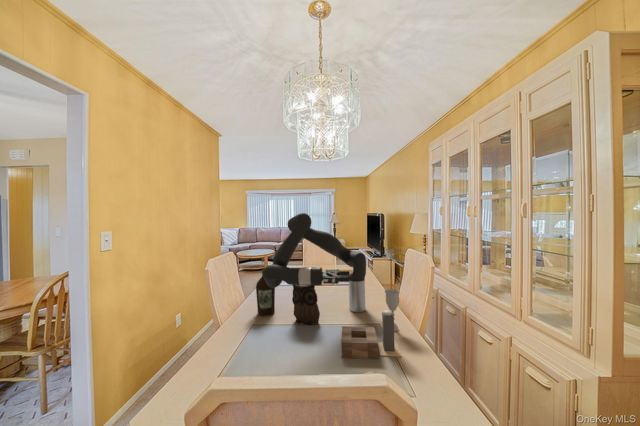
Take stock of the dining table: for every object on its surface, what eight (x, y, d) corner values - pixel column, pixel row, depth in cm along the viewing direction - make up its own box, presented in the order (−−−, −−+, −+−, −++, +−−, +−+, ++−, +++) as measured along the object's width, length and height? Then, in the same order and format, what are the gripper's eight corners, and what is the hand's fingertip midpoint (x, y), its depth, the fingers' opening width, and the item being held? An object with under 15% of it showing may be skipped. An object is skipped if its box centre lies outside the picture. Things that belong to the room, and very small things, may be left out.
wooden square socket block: (342, 339, 114) (342, 326, 114) (374, 340, 113) (374, 327, 113) (341, 357, 100) (341, 342, 100) (378, 358, 99) (378, 343, 99)
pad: (377, 343, 111) (377, 342, 111) (396, 343, 110) (396, 342, 110) (380, 356, 101) (380, 355, 101) (401, 356, 100) (401, 355, 100)
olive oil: (257, 310, 152) (256, 268, 152) (275, 309, 154) (274, 267, 154) (255, 317, 142) (254, 272, 142) (275, 316, 143) (274, 270, 143)
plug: (383, 345, 107) (382, 309, 107) (392, 346, 107) (391, 310, 107) (384, 351, 103) (383, 313, 103) (394, 351, 103) (393, 313, 103)
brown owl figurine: (320, 324, 131) (319, 285, 130) (296, 328, 127) (295, 287, 127) (314, 315, 143) (313, 279, 143) (291, 318, 139) (290, 281, 139)
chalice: (390, 333, 119) (389, 294, 119) (382, 326, 126) (381, 290, 126) (404, 330, 121) (402, 292, 121) (396, 324, 128) (395, 288, 128)
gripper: (307, 271, 101) (349, 270, 100) (312, 263, 116) (349, 263, 114) (308, 290, 101) (350, 290, 100) (313, 280, 116) (349, 280, 114)
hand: (349, 276), depth 107 cm, fingers open, 8 cm apart
